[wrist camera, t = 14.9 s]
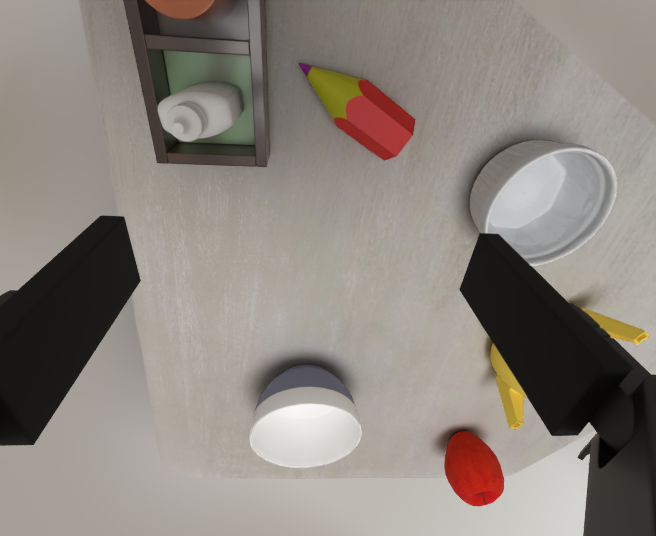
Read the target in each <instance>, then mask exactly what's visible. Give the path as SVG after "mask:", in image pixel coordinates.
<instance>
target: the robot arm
mask: <svg viewBox="0 0 656 536" xmlns="http://www.w3.org/2000/svg"><path fill="white" fill-rule="evenodd" d="M139 282H140V277H139V273H138V269H137V265H136V261H135V257H134V253H133V249H132V245H131V242H130V238H129V234H128V230H127V226H126V222H125V218H124V217H121V216H100V217H99V218H98V219H97V220H95V221H94V222H93V223H92V224H91V225H90V226H89V227H88V228H87V229H85V230H84V231H83V232H82V233H81V234H80V235H79V236H78V237H77V238H75V239H74V240H73V241H72V242H71V243H70V244H69V245H68V246H67V247H65V248H64V249H63V250H62V251H61V252H60V253H59V254H58V255H57V256H55V257H54V258H53V259H52V260H51V261H50V262H49V263H48V264H47V265H45V266H44V267H43V268H42V269H41V270H40V271H39V272H38V273H37V274H36V275H34V276H33V277H32V278H31V279H30V280H29V281H28V282H27V283H25V285H23V286H22V287H21V288H20V289H19V290H18V291H14V290H13V291H12V290H10V291H8V292H6V293H4V294H2V295H1V296H0V445H34V443H35V442H36V440H37V439H38V437H39V436H40V434H41V433H42V431H43V430H44V428H45V426H46V425H47V423H48V422H49V420H50V419H51V417H52V416H53V414H54V413H55V411H56V410H57V408H58V406H59V405H60V403H61V402H62V400H63V399H64V397H65V396H66V394H67V393H68V391H69V390H70V388H71V387H72V385H73V384H74V382H75V381H76V379H77V377H78V376H79V374H80V373H81V371H82V370H83V368H84V367H85V365H86V364H87V362H88V361H89V359H90V358H91V356H92V354H93V353H94V351H95V350H96V348H97V347H98V345H99V343H100V342H101V341H102V339H103V337H104V336H105V334H106V333H107V331H108V330H109V328H110V327H111V325H112V324H113V322H114V321H115V319H116V318H117V316H118V315H119V313H120V311H121V310H122V308H123V307H124V305H125V304H126V302H127V300H128V299H129V298H130V296H131V295H132V293H133V292H134V290H135V288H136V287H137V285H138V284H139ZM460 291H461V293H462V294H463V296H464V298H465V299H466V301H467V302H468V304H469V306H470V307H471V309H472V310H473V312H474V313H475V315H476V317H477V318H478V320H479V321H480V323H481V325H482V326H483V328H484V329H485V331H486V332H487V334H488V336H489V337H490V339H491V340H492V342H493V344H494V345H495V347H496V348H497V350H498V351H499V353H500V355H501V356H502V358H503V359H504V361H505V362H506V364H507V366H508V367H509V369H510V370H511V372H512V374H513V375H514V377H515V378H516V380H517V381H518V383H519V385H520V386H521V388H522V389H523V391H524V393H525V394H526V396H527V397H528V399H529V400H530V402H531V404H532V405H533V407H534V408H535V410H536V412H537V413H538V415H539V416H540V418H541V419H542V421H543V423H544V424H545V426H546V427H547V429H548V431H549V432H550V434H551V435H552V436H569V435H578V434H579V433H580V432H581V431H582V429H583V428H584V427H585V426H586V425H587V423H588V422H590V424H591V425H592V426H593V428H594V429H595V430H596V432H597V434H596V435H595V436H594V437H593V438H592V439H591V440H590V442H589V443H588V444H587V445H586V446H585V447H584V448H583V450H582V451H581V452H580V454H579V456H578V458H579V459H581V460H583V459H584V458H585V456H586V455H588V454H590V462H589V475H588V487H587V498H586V510H585V522H584V535H583V536H656V375H651V374H650V373H649V372H648V371H647V370H646V369H645V368H644V367H643V366H642V365H641V364H640V363H639V362H637V361H636V360H635V359H634V358H633V357H632V356H631V355H630V354H629V353H628V352H627V351H626V350H625V349H624V348H623V347H622V346H621V345H620V344H619V343H618V342H617V341H616V340H615V339H614V338H610V335H609V334H608V333H607V332H606V331H605V330H604V329H603V328H600V325H599V324H598V323H597V322H596V321H595V320H594V319H593V318H592V317H591V316H590V315H589V314H587V313H586V312H584V311H583V310H581V309H580V308H578V307H576V306H575V305H573V304H572V303H568V302H567V301H566V300H565V299H564V298H563V297H562V296H561V295H560V294H559V293H558V292H557V291H556V290H555V289H554V288H553V287H552V286H551V285H550V284H549V283H548V282H547V281H546V280H545V279H544V278H543V277H542V276H541V275H540V274H539V273H538V272H537V271H536V270H535V269H534V268H533V267H532V266H531V265H530V264H529V263H528V262H527V261H526V260H525V259H524V258H523V257H522V256H521V255H520V254H519V253H518V252H516V251H515V250H514V249H513V248H512V247H511V246H510V245H509V244H508V243H507V242H506V241H505V240H504V239H503V238H502V237H501V236H500V235H499V234H492V233H480V234H479V237H478V240H477V243H476V245H475V248H474V251H473V254H472V256H471V259H470V262H469V265H468V267H467V270H466V273H465V276H464V279H463V281H462V284H461V287H460Z"/></svg>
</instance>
